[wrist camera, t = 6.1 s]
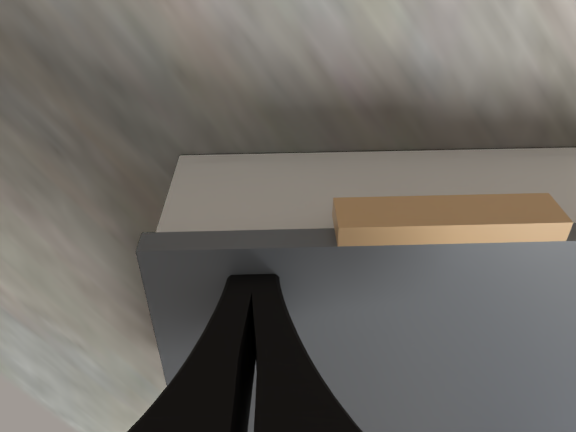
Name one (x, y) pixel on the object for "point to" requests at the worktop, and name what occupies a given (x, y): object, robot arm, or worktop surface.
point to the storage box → (349, 183)
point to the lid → (402, 306)
